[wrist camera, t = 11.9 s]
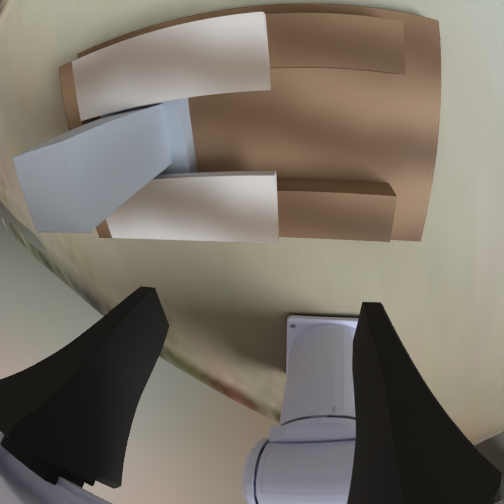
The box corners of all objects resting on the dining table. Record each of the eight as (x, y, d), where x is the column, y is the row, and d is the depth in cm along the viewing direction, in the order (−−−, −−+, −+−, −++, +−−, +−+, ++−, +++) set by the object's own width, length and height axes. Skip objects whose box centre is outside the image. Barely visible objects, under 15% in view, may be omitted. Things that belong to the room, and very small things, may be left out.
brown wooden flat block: (416, 233, 18) (431, 265, 15) (122, 224, 22) (97, 249, 19) (432, 22, 10) (458, 14, 7) (86, 53, 14) (51, 57, 12)
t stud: (198, 171, 18) (117, 256, 10) (124, 177, 19) (33, 250, 11) (186, 82, 14) (77, 107, 7) (108, 99, 16) (-3, 141, 8)
